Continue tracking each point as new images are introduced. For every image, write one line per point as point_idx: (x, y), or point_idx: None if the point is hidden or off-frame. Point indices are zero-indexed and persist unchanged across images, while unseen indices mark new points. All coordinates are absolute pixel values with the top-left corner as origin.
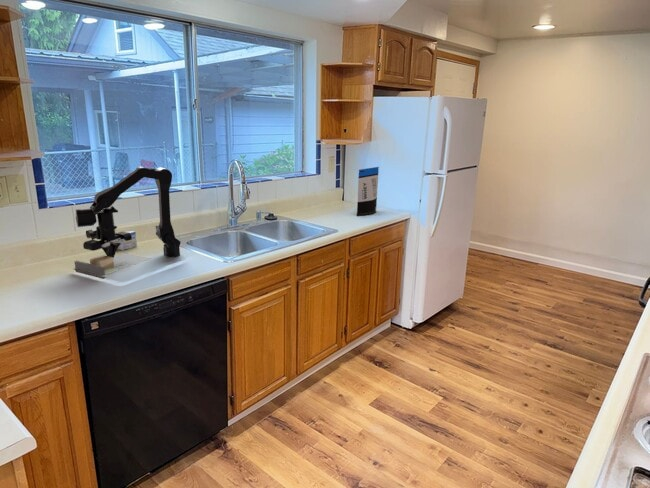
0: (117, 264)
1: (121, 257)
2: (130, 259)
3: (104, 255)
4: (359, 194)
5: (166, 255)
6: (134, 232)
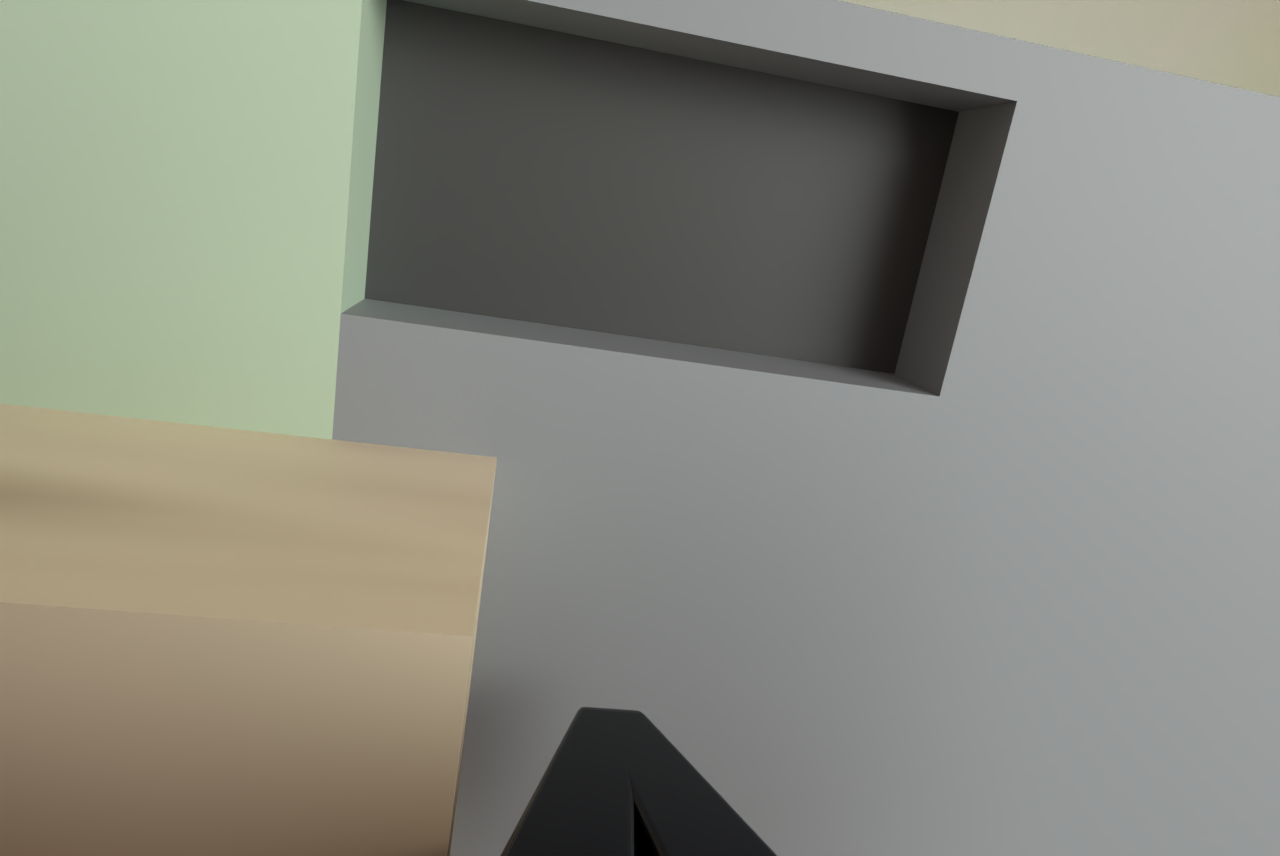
0: None
1: (1253, 451)
2: (1128, 796)
3: (447, 769)
4: None
5: None
6: None
